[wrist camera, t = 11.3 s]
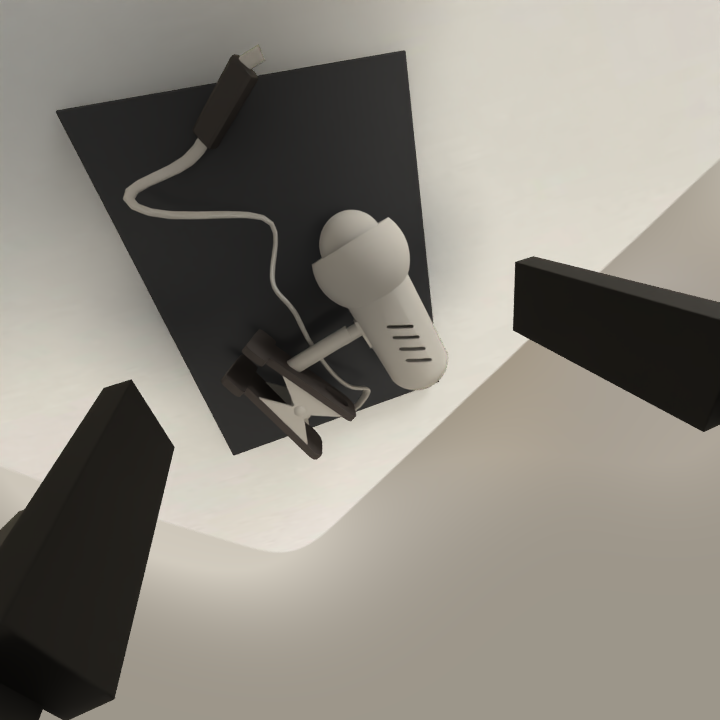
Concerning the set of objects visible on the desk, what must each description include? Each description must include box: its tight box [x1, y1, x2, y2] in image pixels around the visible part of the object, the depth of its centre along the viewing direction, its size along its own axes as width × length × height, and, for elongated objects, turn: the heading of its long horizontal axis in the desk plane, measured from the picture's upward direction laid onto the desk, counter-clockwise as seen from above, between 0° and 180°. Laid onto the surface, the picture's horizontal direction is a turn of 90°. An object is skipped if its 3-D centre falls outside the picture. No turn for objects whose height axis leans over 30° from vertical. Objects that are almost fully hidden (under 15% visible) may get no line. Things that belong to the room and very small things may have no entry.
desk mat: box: [56, 51, 439, 455], centre depth 21 cm, size 20×16×1 cm
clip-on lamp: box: [123, 44, 448, 460], centre depth 18 cm, size 12×6×18 cm
